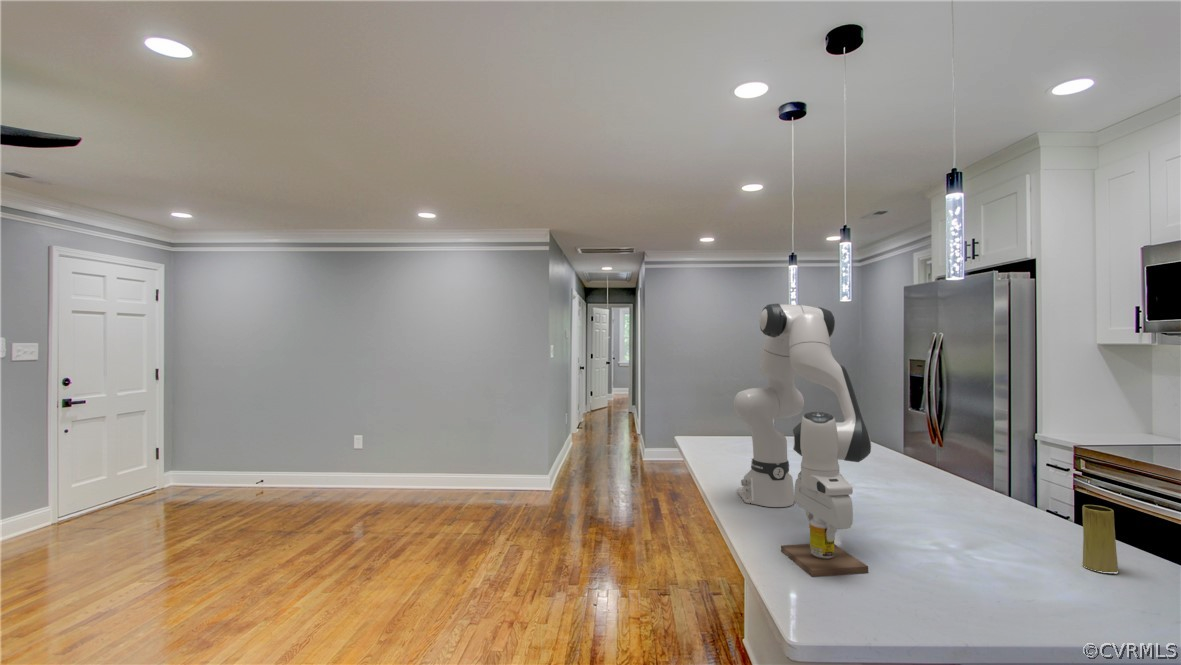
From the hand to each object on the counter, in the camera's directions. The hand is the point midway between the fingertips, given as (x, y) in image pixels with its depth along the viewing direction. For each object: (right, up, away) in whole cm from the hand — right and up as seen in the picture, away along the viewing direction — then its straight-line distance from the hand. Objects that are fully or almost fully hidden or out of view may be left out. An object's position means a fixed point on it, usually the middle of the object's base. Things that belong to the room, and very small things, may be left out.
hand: (821, 534), depth 128 cm
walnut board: (0, -7, 0) cm, 7 cm away
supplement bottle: (0, -5, 0) cm, 5 cm away
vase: (+62, -6, -7) cm, 63 cm away
